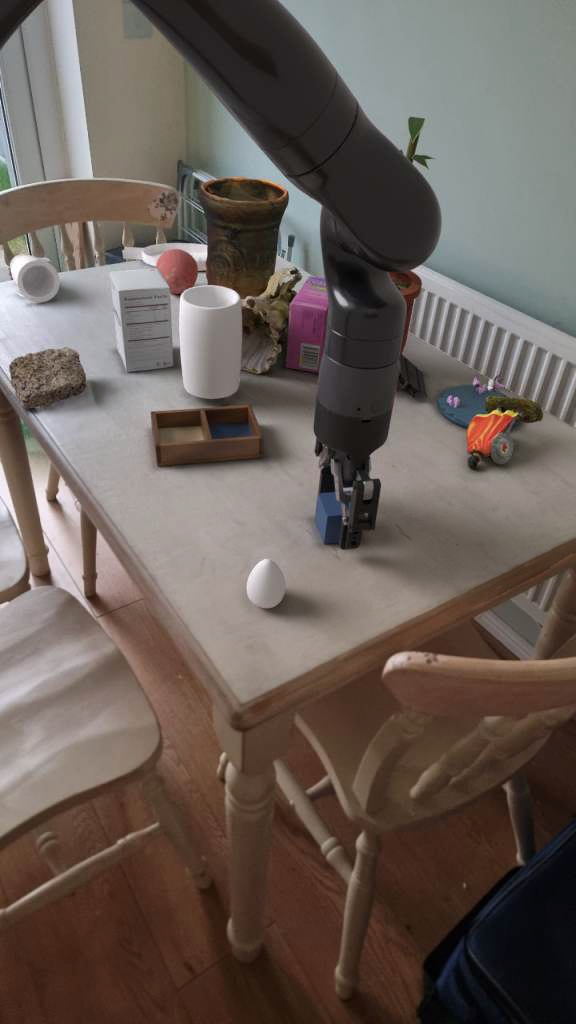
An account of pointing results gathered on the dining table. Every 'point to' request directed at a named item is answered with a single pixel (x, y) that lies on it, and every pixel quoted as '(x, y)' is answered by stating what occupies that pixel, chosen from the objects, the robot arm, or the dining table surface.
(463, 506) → the dining table surface
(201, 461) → the sorter
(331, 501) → the block
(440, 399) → the blue flower bed
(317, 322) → the box
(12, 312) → the dining table surface
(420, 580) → the dining table surface
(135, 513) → the dining table surface
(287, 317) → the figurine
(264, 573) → the egg
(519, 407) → the figurine
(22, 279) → the downlight
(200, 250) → the two-handled dish
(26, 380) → the stone
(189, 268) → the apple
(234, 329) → the cup
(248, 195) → the vessel
